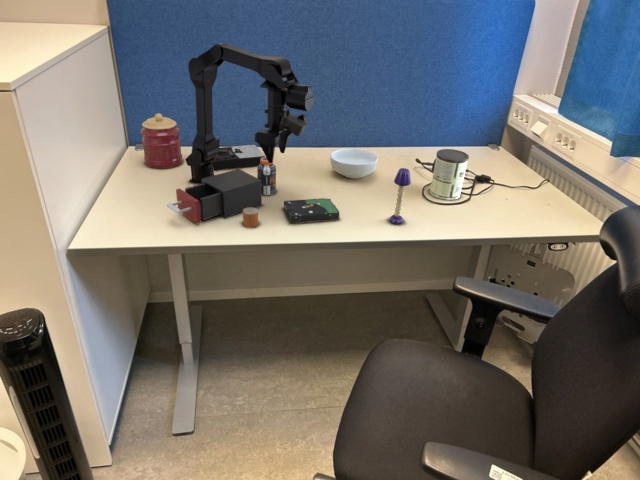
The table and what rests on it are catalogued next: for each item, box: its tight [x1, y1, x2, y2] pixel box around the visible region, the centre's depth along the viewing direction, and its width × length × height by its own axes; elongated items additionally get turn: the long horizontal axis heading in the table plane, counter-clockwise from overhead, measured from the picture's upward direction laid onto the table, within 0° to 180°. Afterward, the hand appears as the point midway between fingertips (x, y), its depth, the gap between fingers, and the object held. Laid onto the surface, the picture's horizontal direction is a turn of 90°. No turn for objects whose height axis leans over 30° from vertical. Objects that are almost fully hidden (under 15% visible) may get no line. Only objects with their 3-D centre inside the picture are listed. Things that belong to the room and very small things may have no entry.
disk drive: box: [283, 198, 340, 224], centre depth 140 cm, size 10×3×15 cm
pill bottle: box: [256, 156, 277, 196], centre depth 150 cm, size 6×6×11 cm
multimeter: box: [211, 144, 266, 171], centre depth 172 cm, size 13×19×5 cm
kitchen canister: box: [140, 113, 183, 169], centre depth 165 cm, size 13×13×18 cm
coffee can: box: [429, 148, 470, 201], centre depth 156 cm, size 10×10×14 cm
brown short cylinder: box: [242, 207, 259, 228], centre depth 132 cm, size 4×4×4 cm
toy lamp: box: [388, 167, 411, 226], centre depth 135 cm, size 5×5×17 cm
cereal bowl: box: [329, 148, 379, 179], centre depth 168 cm, size 17×17×7 cm
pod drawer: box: [166, 183, 223, 225], centre depth 134 cm, size 17×10×7 cm, turn 134°
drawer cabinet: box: [202, 168, 263, 219], centre depth 141 cm, size 13×11×8 cm
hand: (276, 157), depth 141 cm, fingers open, 9 cm apart
